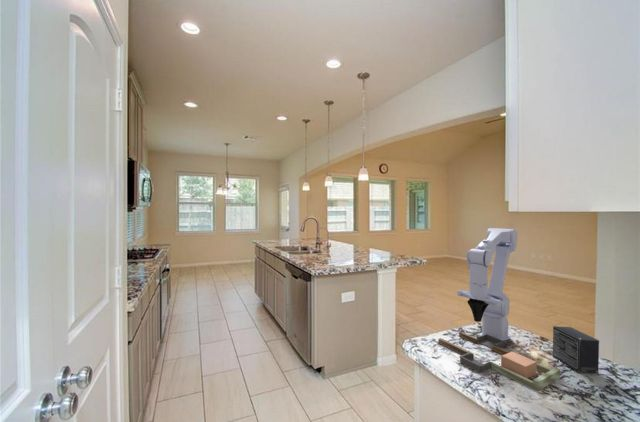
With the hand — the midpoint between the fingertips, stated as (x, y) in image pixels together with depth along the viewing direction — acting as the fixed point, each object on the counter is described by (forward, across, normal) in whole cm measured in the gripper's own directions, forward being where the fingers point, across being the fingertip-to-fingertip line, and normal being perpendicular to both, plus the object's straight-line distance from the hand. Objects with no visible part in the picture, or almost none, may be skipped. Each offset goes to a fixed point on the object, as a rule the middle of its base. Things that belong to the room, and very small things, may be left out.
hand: (477, 320), depth 101 cm
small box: (+10, +21, +18) cm, 30 cm away
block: (+11, +14, -2) cm, 18 cm away
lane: (+10, +6, -1) cm, 12 cm away
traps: (+10, +3, -1) cm, 11 cm away
